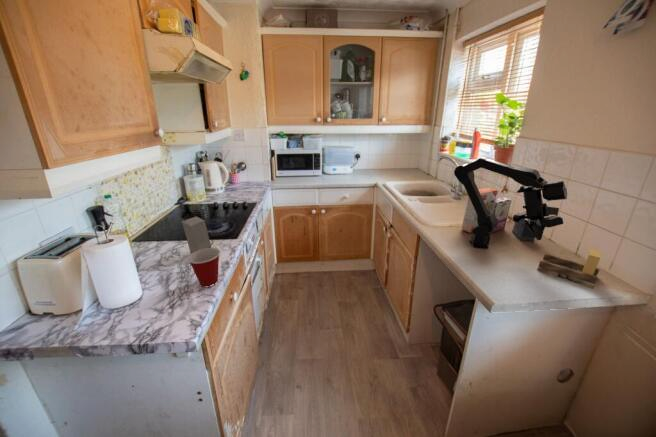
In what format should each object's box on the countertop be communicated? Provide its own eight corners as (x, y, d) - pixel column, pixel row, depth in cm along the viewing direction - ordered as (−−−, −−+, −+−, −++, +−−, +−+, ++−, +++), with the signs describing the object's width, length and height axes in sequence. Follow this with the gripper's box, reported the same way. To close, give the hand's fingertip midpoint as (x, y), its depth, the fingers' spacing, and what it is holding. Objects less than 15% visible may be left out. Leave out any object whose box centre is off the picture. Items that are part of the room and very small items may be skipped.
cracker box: (471, 234, 144) (479, 193, 136) (460, 229, 149) (468, 190, 141) (489, 228, 150) (498, 189, 142) (479, 224, 155) (487, 186, 147)
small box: (535, 242, 136) (541, 221, 132) (519, 241, 138) (525, 220, 134) (525, 232, 146) (531, 213, 142) (511, 231, 147) (516, 212, 143)
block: (580, 276, 107) (589, 254, 104) (582, 270, 111) (591, 249, 108) (590, 280, 105) (600, 257, 102) (592, 273, 109) (601, 251, 106)
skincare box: (213, 254, 125) (207, 220, 119) (196, 260, 120) (189, 225, 114) (204, 247, 130) (198, 215, 124) (188, 253, 125) (181, 219, 119)
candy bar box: (495, 226, 154) (503, 196, 147) (504, 229, 149) (512, 199, 143) (481, 229, 149) (488, 199, 143) (489, 233, 145) (497, 202, 139)
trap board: (537, 269, 114) (539, 261, 113) (543, 259, 122) (545, 252, 120) (593, 288, 103) (596, 279, 102) (596, 276, 111) (599, 267, 109)
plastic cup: (211, 271, 112) (206, 244, 108) (230, 279, 107) (226, 251, 103) (186, 285, 104) (179, 256, 99) (206, 295, 99) (200, 265, 94)
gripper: (574, 198, 105) (579, 239, 107) (533, 196, 123) (539, 231, 126) (545, 205, 104) (551, 246, 107) (509, 202, 123) (515, 237, 125)
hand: (539, 239), depth 116 cm, fingers closed
